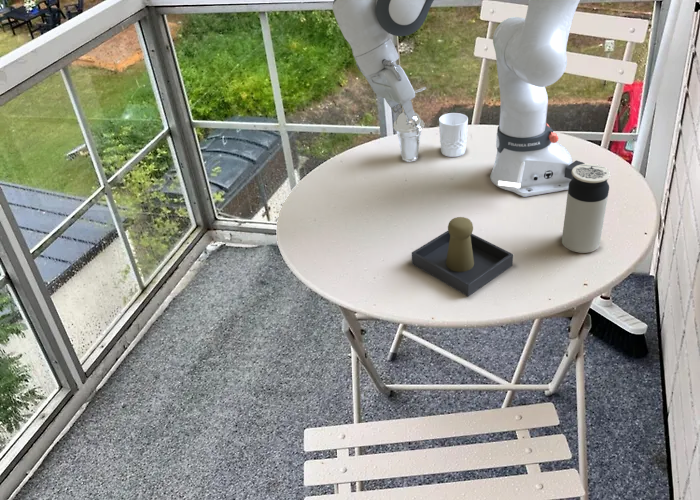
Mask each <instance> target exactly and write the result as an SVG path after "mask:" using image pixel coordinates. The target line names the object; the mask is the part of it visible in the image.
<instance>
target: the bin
mask: <svg viewBox="0 0 700 500" xmlns="http://www.w3.org/2000/svg"><path fill="white" fill-rule="evenodd" d="M470 236H471V244H472V251H473V258H474V266H473V267H472V269H470V270H468V271H464V272H457V271H453V270H451V269H449V268H448V267H447V266H446V260H447V253H448V247H449V241H450V234H449V232H448V230H446V231H444V232H443V233H441V234H439V235H438V236H436V237H434V238H433V239H432V240H430V241H428V242H427V243H424V244H423V245H421V246H420V247H418V248H416V249H415V250H413V251H412V252H411V265H413V266H415V267H416V268H418V269H420V270H422V271H423V272H425V273H427V274H429V275H430V276H432V277H433V278H435V279H437V280H439V281H440V282H442V283H444V284H445V285H447V286H449V287H451V288H453V289H454V290H456V291H457V292H459V293H461V294H463V295H464V296H466V297H470V296H471V295H473V294H475V293H476V292H477V291H479V290H480V289H482V288H483V287H484V286H486V285H487V284H488V283H490V282H492V281H493V280H494V279H496V278H497V277H498V276H500V275H501V274H503V273H504V272H506V271H507V270H509V269H510V268H511V267H512V266H513V261H514V253H511V252H510V251H508V250H506V249H504V248H502V247H500V246H498V245H496V244H495V243H492V242H489V241H488V240H486V239H483V238H482V237H479V236H477V235H475V234H473V233H472V234H471V235H470Z"/></svg>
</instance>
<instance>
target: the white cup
mask: <svg viewBox="0 0 700 500" xmlns="http://www.w3.org/2000/svg"><path fill="white" fill-rule="evenodd" d="M468 125H469V117H468V116H467V115H466V114H464V113H460V112H449V113H445V114H442V115H441V116H439V118H438V129H439V143H440V152H441V154H442V155H443V156H445V157H449V158H457V157H461V156H463V155H464V154H466V149H467V142H468V141H467V139H468Z"/></svg>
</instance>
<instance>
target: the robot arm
mask: <svg viewBox="0 0 700 500" xmlns="http://www.w3.org/2000/svg"><path fill="white" fill-rule="evenodd" d="M434 1H435V0H333V2H332V12H333V15H334V18H335V20H336V23H337V25H338V28H339V29H340V31H341V34H342V36H343V38H344V39H345V41H347V43H348V44H349V46H350V48H351V53H352V56H353V58H354V60H355V62H356V63H355V65H356V67H357V69H358V71H359V72H361V74H362V76H364V77H365V79H366V81H367V82H368V84H369V86H370V88H371V89H372V91H373V92H374V94H375V95H376V96H377V97H379V98H382V99H384V100H385V102H386V103H387V105H388V106H389V107H390V109H391V111H392V113H393V114H394V115H400V114H401V113H402V112H404V114H405V115H406V118H408V119H412V118H414V117H415V112H416V111H414V107H413V106H414V105H413V102H412V100H413V99H415V98H416V93H415V89H414V87H413V85H412V83H411V81H410V79H409V77H408V75H407V73H406V72H405V70H404V69H403V68H402V66H401V65H400V64H397V62H396V61H398V60H399V58H400V55H399V53H398V51H397V48H396V46H395V44H394V42H393V40H392V38H391V36H390V35H392V36H395V37H407V36H409V35H412V34H415V33H416V32H417V31H418V30H419V29H420V28H421V27H422V26H423V24H424V23H425V21H426V19H427V17H428V14H429V12H430V9H431V6H432V5H433V3H434ZM580 2H581V0H528V1H527V10H526V14H525V18H524V17H519V16H511V17H508V18H506V19H504V20H502V21H501V22H500V23H499V24H497V27H496V28H495V30H494V32H493V36H492V44H493V48H494V52H495V59H496V71H497V80H498V87H499V100H500V103H499V106H500V107H499V125H498V126H497V130H496V137H495V142H496V143H495V147H496V155H495V160H494V165H493V168H492V170H491V172H490V177H489V178H490V181H491V182H492V184H493V185H495V187H498V188H500V189H502V190H505V191H509V192H512V193H514V194H517V195H518V196H521V197H522V198H523V197H527V198H528V197H532V196H538V195H545V194H549V193H556V192H561V191H568V187H569V182H570V181H571V180H572V178H573V175H572V169H573V168H574V167H575V166H577V165H580V164H586V163H585V162H583V161H580V160H575V161H573V158H572V155H571V154H570V152H569V150H568V149H567V148H566V147H565V146H564V145H562V144H561V143H559V142H558V141H559V136H558V134H557V133H556V132H554V129H553V127H550V125H549V124H548V123H547V116H548V105H549V97H548V92H547V89H546V87H549V86H551V85H553V84H556V83H557V82H558V81H559V80H560V79H561V78H562V77H563V75H564V74H565V72H566V69H567V65H568V57H567V56H568V55H567V48H568V47H567V46H568V40H569V36H570V33H571V32H570V31H571V27H572V23H573V20H574V16H575V13H576V10H577V8H578V6H579V3H580Z"/></svg>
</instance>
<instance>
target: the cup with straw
mask: <svg viewBox="0 0 700 500" xmlns="http://www.w3.org/2000/svg"><path fill="white" fill-rule="evenodd" d="M425 90H427V87H426V86H423V87H420V88H418V89H414V91H415V94H417V93H419V92H423V91H425ZM414 112H415V117H414V118H412V119H408V118H406V115H405V114H404V111H402V112H401V113H399V114H398V115H397V117H396V120H394V122H393V124H392V128H393V130H394V131H396V135H397V138H398V143H399V150H400V156H401V160H402V161H404V162H407V163H409V162H410V163H411V162H415V161H417V160H418V159H419V152H420V142H421V141H420V140H421V135H422V130H423V129H424V128H425V122H424V120H423V119H422V118H421V116H420V115H419V113H417V112H416V111H414Z"/></svg>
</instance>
